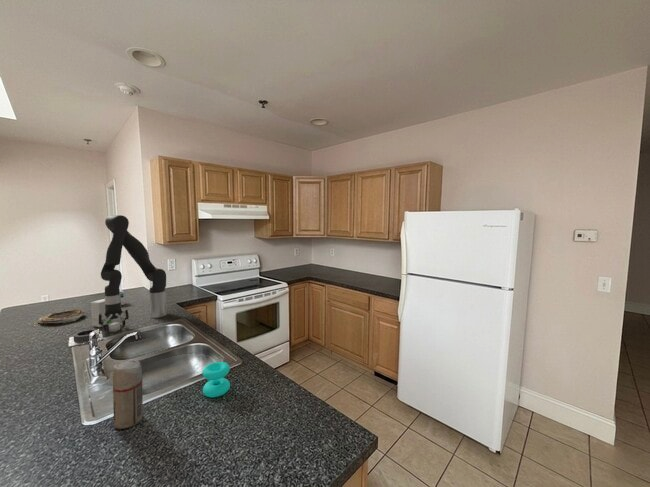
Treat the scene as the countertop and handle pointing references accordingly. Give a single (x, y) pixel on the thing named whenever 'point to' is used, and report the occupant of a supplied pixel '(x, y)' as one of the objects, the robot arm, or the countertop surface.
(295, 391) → the countertop surface
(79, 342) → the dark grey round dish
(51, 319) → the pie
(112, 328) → the cap
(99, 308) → the skincare box
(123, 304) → the light bulb box
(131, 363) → the brown cylinder
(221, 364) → the teal spool
